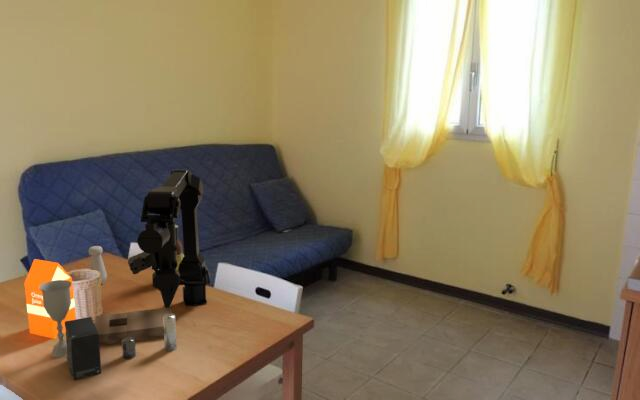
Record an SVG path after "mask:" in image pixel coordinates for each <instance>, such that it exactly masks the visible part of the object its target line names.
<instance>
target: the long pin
mask: <svg viewBox="0 0 640 400" xmlns="http://www.w3.org/2000/svg"><path fill="white" fill-rule="evenodd" d="M176 321H177V320H176V314H175V313H172V312H171V313H169V314H165V315H164V316H163V327H164V337H163V339H164V340H163V341H164V351H165V352H173V351H176V350H177V348H178V346H177V345H178V344H177V343H178V342H177V328H176V327H177V323H176Z"/></svg>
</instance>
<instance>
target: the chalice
mask: <svg viewBox="0 0 640 400" xmlns="http://www.w3.org/2000/svg"><path fill="white" fill-rule="evenodd" d="M70 286H71V282H70V281H66V280H56V281H50V282H46V283H44V284H42V285H40V286H39V288H40V290H41V291H42V294H43V303H44V308H45V310H46V311H47V313H48V314H49V316H50V317H51V318H52V320H53V321H57V328H56V329H57V330H58V334H57V336H58V337H57V338H58V341H57V343H55V344H54V345H53V347H52V352H51V354H50V355H51V356H52V357H53V358H64V357H67V342H66V340H64V336H65V333H63V332H62V329H63V326H62V323H61V322H62V320H64V319H65V318H66V315H67V313H68V311H69V308H70V304H71V297H70Z"/></svg>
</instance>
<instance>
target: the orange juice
mask: <svg viewBox="0 0 640 400" xmlns="http://www.w3.org/2000/svg"><path fill="white" fill-rule="evenodd" d="M56 280H66V281H70V282H71V286H70V297H71V304H70V308H69V311H68V313H67V315H66V318H65V319H64V320H62V322H61V323H62V326H63V329H62V332H63V333H64V334H66V330H65V321H70V320H76V319H77V318H76V305H75V304H76V303H75V296H74V285H73V277H71V276H70V275H69V273H68V272H67V271H66V270H65V269H64V268H63V266H61V265H60V264H59V262H54V261H48V260H43V259H38V258H37V259H36V258H34V259H33V261H32V264H31V266H30V269H29V271H28V273H27V275H26V277H25V280H24V282H23V284H24V285H23V286H24V293H25V301H26V311H27V319H28V327H29V334H31V335H32V334H33V335H37V336H40V337H46V338H50V339H54V340H55V339H57V338H58V336H57V334H58V330H57V329H56V328H57V321H53V320H52V318H51V317H50V316H49V314H48V313H47V311H46V310H45V308H44V303H43V294H42V291H41V290H40V288H39V286H40V285H42V284H44V283H46V282H50V281H56Z"/></svg>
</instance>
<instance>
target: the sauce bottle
mask: <svg viewBox="0 0 640 400" xmlns="http://www.w3.org/2000/svg"><path fill="white" fill-rule="evenodd" d="M179 227H180V226H179V225H177V224H175V233H176V247H177V251H176V255H177V268H176V270H177V271H178V268H179V264H180V262H181V261H182V259H183V257H184V247H183V242H182V241H181V240H180V236H179Z"/></svg>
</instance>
